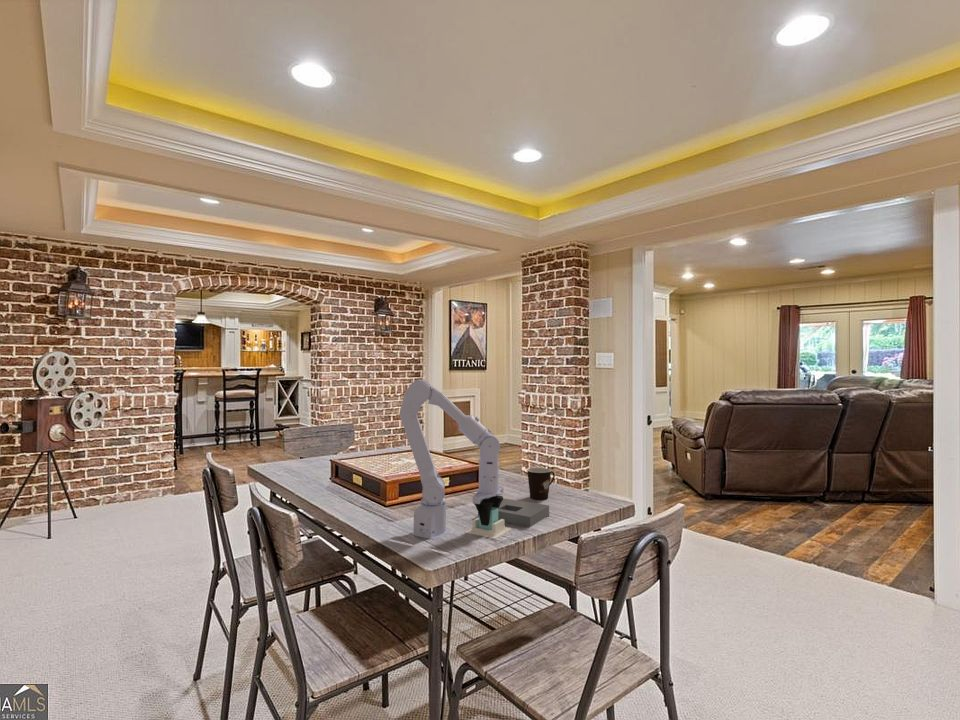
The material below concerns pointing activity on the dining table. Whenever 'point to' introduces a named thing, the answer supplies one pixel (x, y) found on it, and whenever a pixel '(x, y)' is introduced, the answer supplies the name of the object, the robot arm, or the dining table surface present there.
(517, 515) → the block
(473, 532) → the beige square holder
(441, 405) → the robot arm
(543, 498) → the coffee mug
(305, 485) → the dining table surface
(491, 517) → the plug
